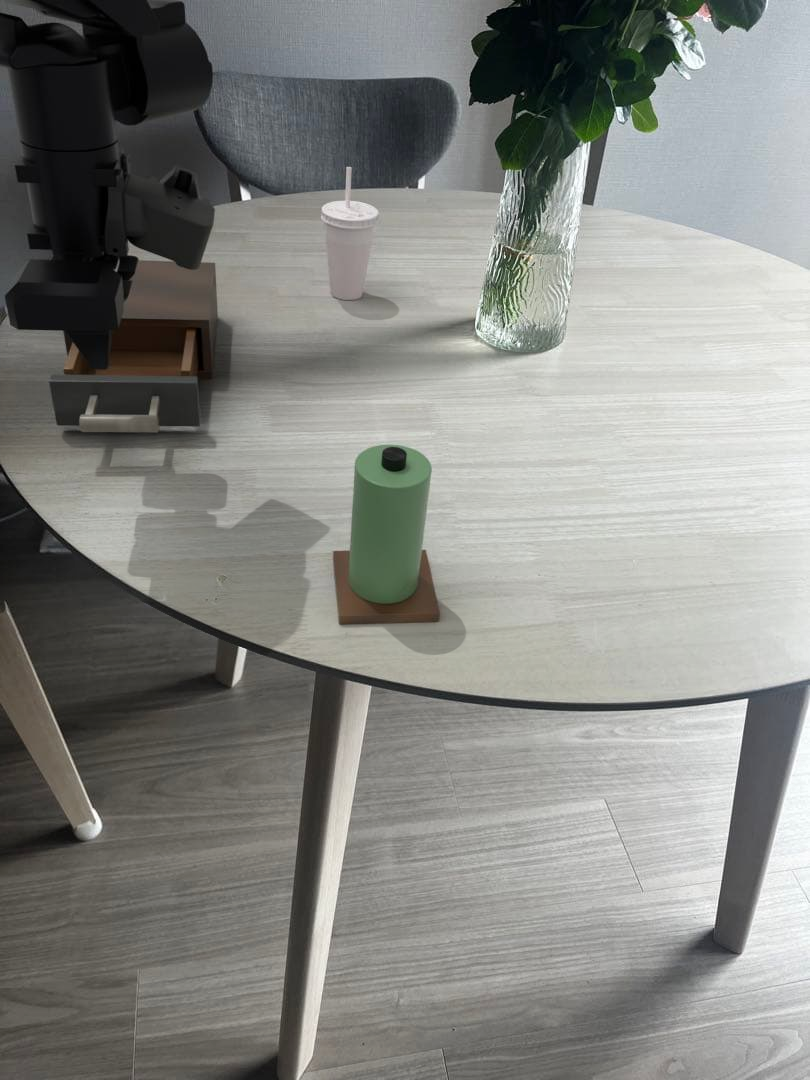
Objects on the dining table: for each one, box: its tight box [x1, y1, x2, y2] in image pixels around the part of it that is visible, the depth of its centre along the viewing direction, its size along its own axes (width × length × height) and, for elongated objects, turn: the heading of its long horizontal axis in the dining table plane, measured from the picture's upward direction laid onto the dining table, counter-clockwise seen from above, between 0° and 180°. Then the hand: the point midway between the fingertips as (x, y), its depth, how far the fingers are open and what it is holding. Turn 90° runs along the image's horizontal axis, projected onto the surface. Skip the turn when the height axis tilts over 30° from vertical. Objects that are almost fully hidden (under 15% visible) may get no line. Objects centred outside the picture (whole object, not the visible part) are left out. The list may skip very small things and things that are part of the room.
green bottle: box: [348, 444, 433, 604], centre depth 61 cm, size 5×5×11 cm
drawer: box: [48, 326, 201, 433], centre depth 79 cm, size 17×12×4 cm
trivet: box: [332, 549, 441, 625], centre depth 65 cm, size 7×7×1 cm
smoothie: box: [320, 166, 380, 301], centre depth 100 cm, size 6×6×14 cm
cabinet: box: [62, 259, 219, 380], centre depth 89 cm, size 14×13×6 cm
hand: (100, 367), depth 65 cm, fingers closed
